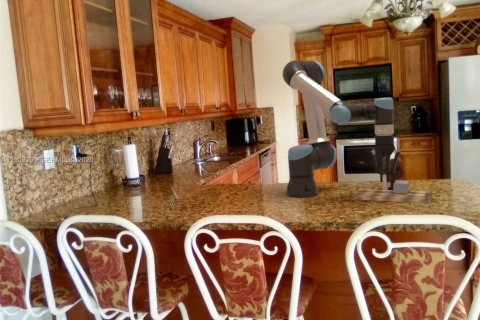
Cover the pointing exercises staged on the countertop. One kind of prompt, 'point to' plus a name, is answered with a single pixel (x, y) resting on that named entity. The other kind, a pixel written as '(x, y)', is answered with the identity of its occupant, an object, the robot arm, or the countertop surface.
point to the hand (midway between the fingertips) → (385, 189)
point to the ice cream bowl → (396, 175)
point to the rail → (394, 196)
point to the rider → (401, 187)
